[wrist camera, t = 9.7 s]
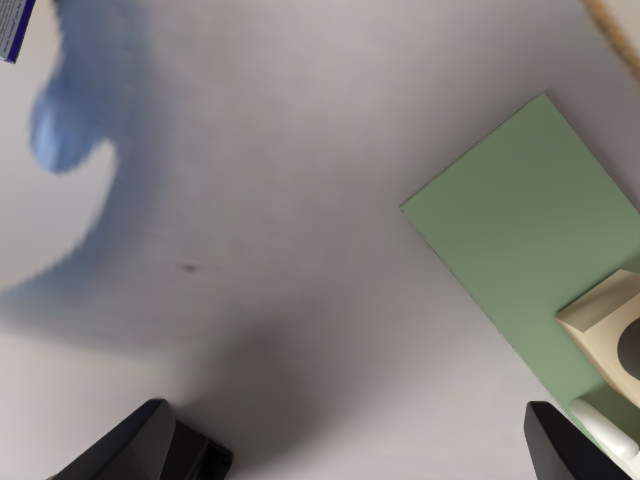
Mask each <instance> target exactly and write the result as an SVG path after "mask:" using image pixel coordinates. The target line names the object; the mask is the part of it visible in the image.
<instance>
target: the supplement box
mask: <svg viewBox="0 0 640 480" xmlns="http://www.w3.org/2000/svg"><path fill="white" fill-rule="evenodd" d="M35 1H36V0H0V59H1V60H4V61H6V62H9V63H11V64H15V63H16V60H17V58H18V55H19V52H20V49H21V45H22V42H23V39H24V35H25V32H26V28H27V26H28V22H29V19H30V16H31V13H32V9H33V6H34V4H35Z"/></svg>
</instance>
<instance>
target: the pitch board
mask: <svg viewBox="0 0 640 480" xmlns="http://www.w3.org/2000/svg"><path fill="white" fill-rule="evenodd" d="M399 208H400V209H401V211H402V212H403V213H404V214H405V216H406V217H407V218H408V219H409V220H410V222H411V223H412V224H413V225H414V227H415V228H416V229H417V230H418V231H419V233H420V234H421V235H422V236H423V238H424V239H425V240H426V241H427V243H428V244H429V245H430V246H431V247H432V249H433V250H434V251H435V252H436V254H437V255H438V256H439V257H440V258H441V260H442V261H443V262H444V263H445V265H446V266H447V267H448V268H449V270H450V271H451V272H452V273H453V274H454V276H455V277H456V278H457V279H458V281H459V282H460V283H461V284H462V285H463V287H464V288H465V289H466V290H467V292H468V293H469V294H470V295H471V297H472V298H473V299H474V300H475V301H476V303H477V304H478V305H479V306H480V308H481V309H482V310H483V311H484V313H485V314H486V315H487V316H488V317H489V319H490V320H491V321H492V322H493V324H494V325H495V326H496V327H497V328H498V330H499V331H500V332H501V333H502V335H503V336H504V337H505V338H506V340H507V341H508V342H509V343H510V344H511V346H512V347H513V348H514V349H515V351H516V352H517V353H518V354H519V355H520V357H521V358H522V359H523V360H524V362H525V363H526V364H527V365H528V367H529V368H530V369H531V370H532V371H533V373H534V374H535V375H536V376H537V378H538V379H539V380H540V381H541V382H542V384H543V385H544V386H545V387H546V389H547V390H548V391H549V392H550V394H551V395H552V396H553V397H554V398H555V400H556V401H557V402H558V403H559V405H560V406H561V407H562V408H563V410H564V411H565V412H566V413H567V414H568V416H569V417H570V418H571V419H572V421H573V422H574V423H575V424H576V425H577V427H578V428H579V429H580V430H581V432H582V433H583V434H584V435H585V436H586V437H587V438H589V439H590V440H591V441H592V442H593V443H594V444H595V445H596V446H597V447H598V448H599V449H600V450H602V451H603V452H604V453H605V454H606V455H607V456H608V454H607V453H606V452H605V451H604V450H603V448H602V447H601V446H600V445H599V443H598V442H597V441H596V440H595V439H594V437H593V436H592V435H591V434H590V432H589V431H588V430H587V429H586V427H585V426H584V425H583V424H582V423H581V422H580V421H579V420H578V419H577V418H576V417H575V416H574V415H573V414H572V413H571V412H570V410H569V404H570V402H571V401H572V400H574V399H576V398H581V399H584V400H585V401H587V402H588V403H589V404H590V405H591V406H593V407H594V408H595V409H596V410H597V411H599V412H600V413H601V414H602V415H603V416H605V417H606V418H607V419H608V420H609V421H611V422H612V423H613V424H614V425H615V426H617V427H618V428H619V429H620V430H621V431H623V432H624V433H625V434H626V435H627V436H629V437H630V438H631V439H632V440H633V441H635V442H636V443H637V444H638V446H639V451H640V408H639V407H637V406H636V405H634V404H633V403H631V402H630V401H629V400H627V399H626V398H624V397H623V396H622V395H620V394H619V393H617V392H616V391H614V390H613V389H612V388H611V387H610V386H609V384H608V383H607V382H606V381H605V379H604V378H603V377H602V376H601V374H600V373H599V372H598V371H597V370H596V368H595V367H594V366H593V365H592V363H591V362H590V361H589V360H588V358H587V357H586V356H585V355H584V353H583V352H582V351H581V350H580V348H579V347H578V346H577V345H576V343H575V342H574V341H573V340H572V338H571V337H570V336H569V335H568V334H567V332H566V331H565V330H564V329H563V327H562V326H561V325H560V324H559V322H558V321H557V320H556V319H555V317H554V316H556V315H557V314H558V313H560V312H561V311H563V310H564V309H565V308H567V307H568V306H569V305H571V304H572V303H574V302H575V301H576V300H578V299H579V298H581V297H582V296H583V295H585V294H586V293H588V292H589V291H590V290H592V289H593V288H595V287H596V286H597V285H599V284H600V283H602V282H603V281H604V280H606V279H607V278H608V277H610V276H611V275H613V274H614V273H615V272H617V271H618V270H620V269H621V270H625V271H629V272H633V273H637V274H640V214H639V213H638V211H637V210H636V209H635V208H634V206H633V205H632V204H631V203H630V201H629V200H628V199H627V197H626V196H625V195H624V194H623V192H622V191H621V190H620V189H619V187H618V186H617V185H616V183H615V182H614V181H613V180H612V178H611V177H610V176H609V174H608V173H607V172H606V171H605V169H604V168H603V167H602V166H601V164H600V163H599V162H598V160H597V159H596V158H595V157H594V155H593V154H592V153H591V151H590V150H589V149H588V148H587V146H586V145H585V144H584V143H583V141H582V140H581V139H580V137H579V136H578V135H577V134H576V132H575V131H574V130H573V129H572V127H571V126H570V125H569V123H568V122H567V121H566V120H565V118H564V117H563V116H562V114H561V113H560V112H559V111H558V109H557V108H556V107H555V106H554V104H553V103H552V102H551V100H550V99H549V98H548V97H547V95H546V94H545V93H542V94H540V95H538V96H536V97H535V98H533V99H532V100H531V101H529V102H528V103H527V104H526V105H525V106H523V107H522V108H521V109H520V110H518V111H517V112H516V113H515V114H513V115H512V116H511V117H510V118H508V119H507V120H506V121H505V122H503V123H502V124H501V125H500V126H499V127H497V128H496V129H495V130H494V131H492V132H491V133H490V134H489V135H487V136H486V137H485V138H484V139H482V140H481V141H480V142H479V143H477V144H476V145H475V146H474V147H473V148H471V149H470V150H469V151H468V152H466V153H465V154H464V155H463V156H461V157H460V158H459V159H458V160H456V161H455V162H454V163H453V164H451V165H450V166H449V167H448V168H447V169H445V170H444V171H443V172H442V173H440V174H439V175H438V176H437V177H435V178H434V179H433V180H432V181H430V182H429V183H428V184H427V185H425V186H424V187H423V188H422V189H421V190H419V191H418V192H417V193H416V194H414V195H413V196H412V197H411V198H409V199H408V200H407V201H406V202H404V203H403V204H402V205H401V206H399ZM608 457H609V456H608ZM609 458H610V457H609ZM610 459H611V458H610ZM611 460H612V459H611Z"/></svg>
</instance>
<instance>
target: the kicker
mask: <svg viewBox="0 0 640 480" xmlns="http://www.w3.org/2000/svg"><path fill="white" fill-rule="evenodd" d="M554 317H555V319H556V320H557V321H558V322H559V324H560V325H561V326H562V327H563V329H564V330H565V331H566V332H567V334H568V335H569V336H570V337H571V338H572V340H573V341H574V342H575V343H576V345H577V346H578V347H579V348H580V350H581V351H582V352H583V353H584V355H585V356H586V357H587V358H588V360H589V361H590V362H591V363H592V365H593V366H594V367H595V368H596V370H597V371H598V372H599V373H600V374H601V376H602V377H603V378H604V379H605V381H606V382H607V383H608V384H609V386H610V387H611V388H612V389H613V390H614V391H616V392H617V393H619V394H620V395H622V396H623V397H624V398H626V399H627V400H629V401H630V402H631V403H633V404H634V405H636V406H637V407H639V408H640V274H637V273H633V272H629V271H625V270H621V269H620V270H618V271H617V272H615V273H614V274H613V275H611V276H610V277H608V278H607V279H606V280H604V281H603V282H602V283H600V284H599V285H597V286H596V287H595V288H593V289H592V290H590V291H589V292H588V293H586V294H585V295H583V296H582V297H581V298H579V299H578V300H576V301H575V302H574V303H572V304H571V305H569V306H568V307H567V308H565V309H564V310H563V311H561V312H560V313H558V314H557V315H556V316H554Z"/></svg>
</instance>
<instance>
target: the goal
mask: <svg viewBox="0 0 640 480" xmlns="http://www.w3.org/2000/svg"><path fill="white" fill-rule="evenodd" d="M569 410H570V412H571V413H572V414H573V415H574V416H575V417H576V418H577V419H578V420H579V421H580V422H581V423H582V424H583V425H584V426H585V427H586V429H587V430H588V431H589V432H590V434H591V435H592V436H593V437H594V439H595V440H596V441H597V442H598V443H599V445H600V446H601V447H602V448H603V450H604V451H605V452H606V453H607V454H608V456H609V457H610V458H611V459H612V461H614V462H615V463H616V464H617V465H618V466H619V467H620V468H621V469H622V470H623V471H624V472H625V473H627V474H628V475H629V476H630V477H631V478H632V479H633V480H640V451H639V446H638V444H637V443H636V442H635V441H633V440H632V439H631V438H630V437H629V436H627V435H626V434H625V433H624V432H623V431H621V430H620V429H619V428H618V427H617V426H615V425H614V424H613V423H612V422H611V421H609V420H608V419H607V418H606V417H605V416H603V415H602V414H601V413H600V412H599V411H597V410H596V409H595V408H594V407H593V406H591V405H590V404H589V403H588V402H587V401H585V400H584V399H581V398H576V399H574V400H572V401H571V402H570V404H569Z"/></svg>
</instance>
